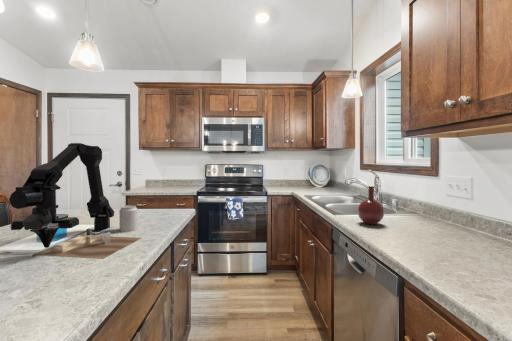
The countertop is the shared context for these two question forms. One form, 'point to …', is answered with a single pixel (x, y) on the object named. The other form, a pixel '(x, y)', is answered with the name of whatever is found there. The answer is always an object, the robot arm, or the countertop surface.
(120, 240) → the base board
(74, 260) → the countertop surface
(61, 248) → the link
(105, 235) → the keeper
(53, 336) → the countertop surface
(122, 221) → the can
